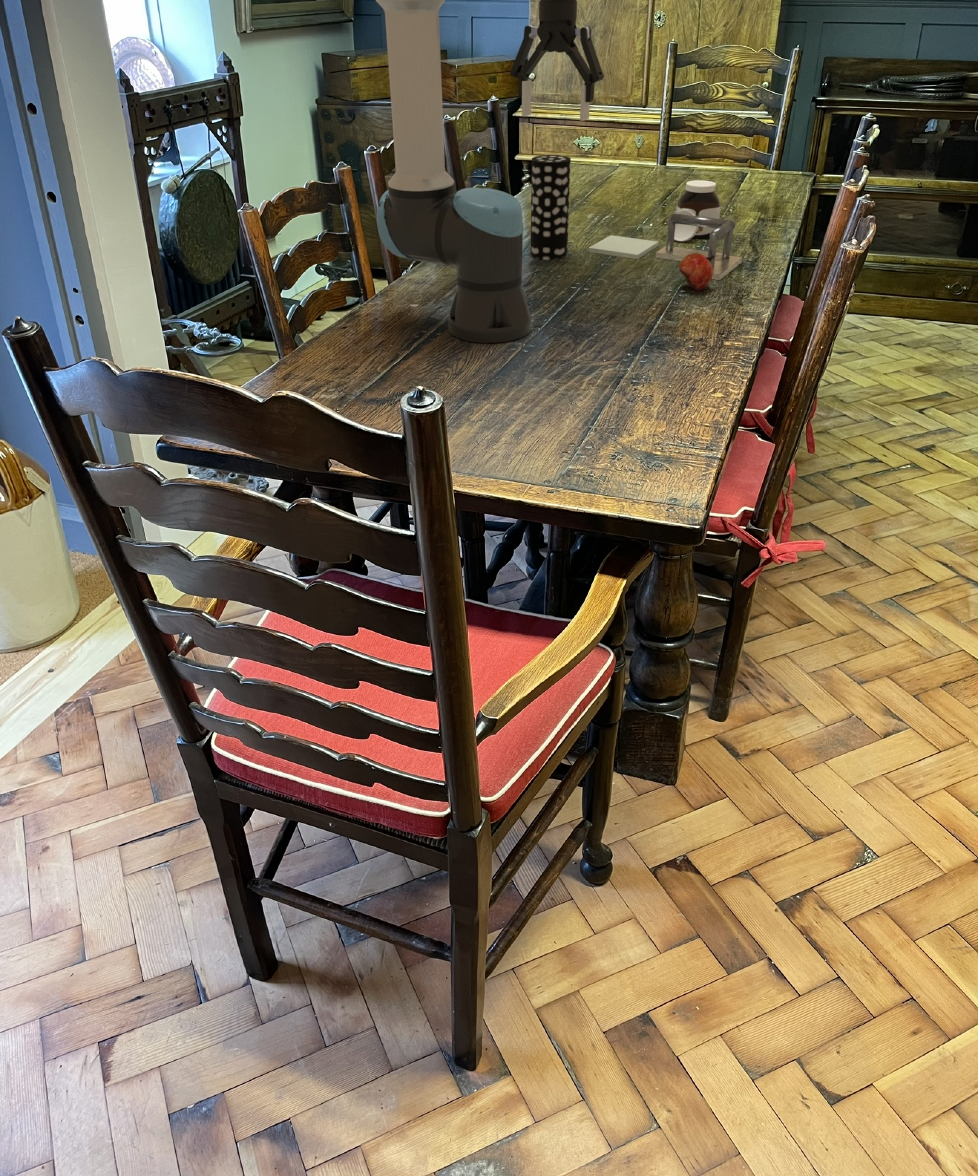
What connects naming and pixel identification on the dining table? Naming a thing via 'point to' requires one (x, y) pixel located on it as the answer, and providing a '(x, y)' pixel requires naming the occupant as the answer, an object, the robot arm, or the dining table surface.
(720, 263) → the buzz wire
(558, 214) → the white-spotted black cylinder
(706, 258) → the pomegranate
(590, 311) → the dining table surface
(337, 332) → the dining table surface
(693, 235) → the spread jar
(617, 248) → the pad
